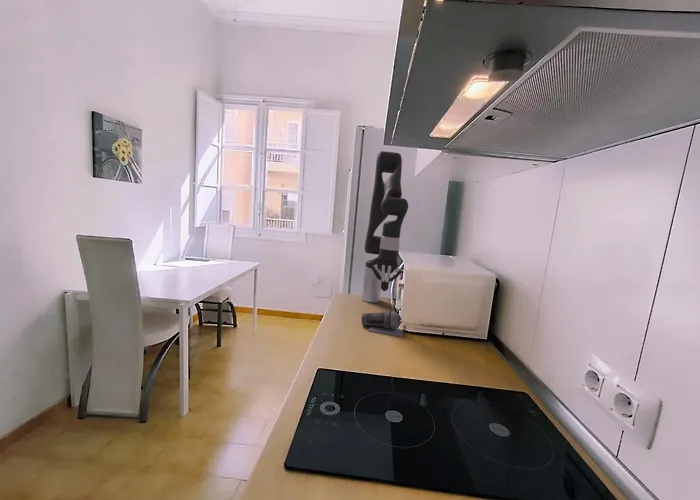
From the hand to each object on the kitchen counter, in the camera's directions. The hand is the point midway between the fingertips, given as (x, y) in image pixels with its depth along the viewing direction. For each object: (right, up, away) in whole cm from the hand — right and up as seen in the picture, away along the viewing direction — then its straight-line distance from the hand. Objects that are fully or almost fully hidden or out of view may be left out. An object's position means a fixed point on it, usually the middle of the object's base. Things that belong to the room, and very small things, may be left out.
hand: (384, 290), depth 147 cm
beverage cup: (-9, -12, +1) cm, 15 cm away
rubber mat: (+2, -15, +1) cm, 15 cm away
